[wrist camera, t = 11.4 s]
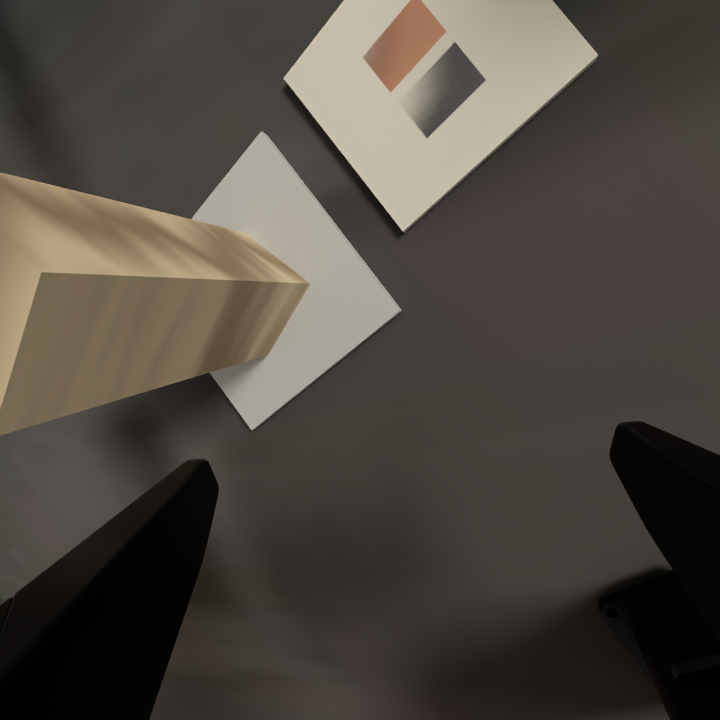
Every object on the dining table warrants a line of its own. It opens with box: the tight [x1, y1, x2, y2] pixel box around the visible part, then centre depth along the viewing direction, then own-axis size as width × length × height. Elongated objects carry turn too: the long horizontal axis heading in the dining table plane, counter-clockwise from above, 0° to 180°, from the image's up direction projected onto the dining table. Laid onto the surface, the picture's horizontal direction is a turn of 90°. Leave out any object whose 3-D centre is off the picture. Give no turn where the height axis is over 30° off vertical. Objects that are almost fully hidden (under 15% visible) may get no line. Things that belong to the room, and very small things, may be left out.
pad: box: [192, 131, 402, 430], centre depth 21 cm, size 12×12×1 cm
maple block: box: [0, 173, 311, 435], centre depth 15 cm, size 5×5×13 cm
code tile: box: [284, 0, 598, 233], centre depth 17 cm, size 10×10×1 cm
